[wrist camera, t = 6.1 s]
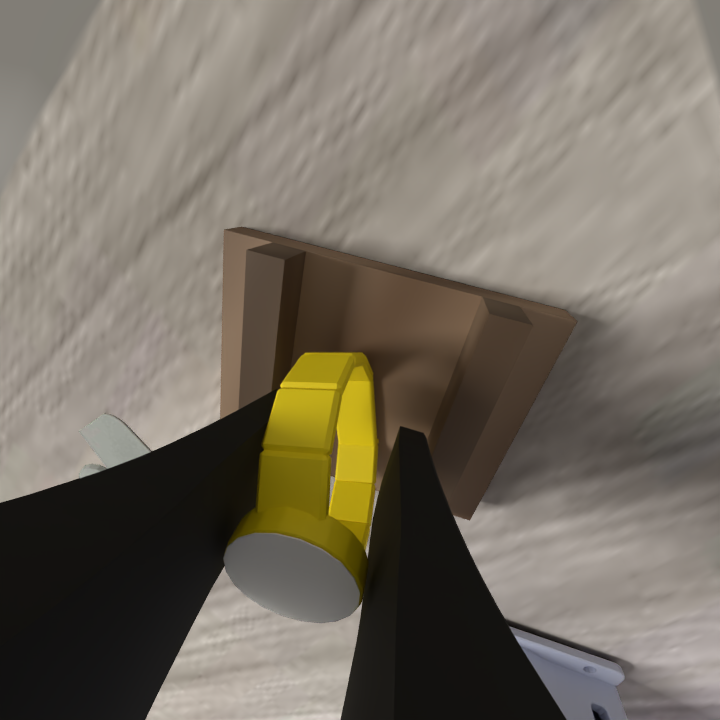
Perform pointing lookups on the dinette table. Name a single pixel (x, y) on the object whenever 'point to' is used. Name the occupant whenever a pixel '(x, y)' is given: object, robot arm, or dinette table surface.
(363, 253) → the dinette table surface
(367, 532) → the watch
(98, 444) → the mounting bracket
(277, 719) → the dinette table surface
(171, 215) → the dinette table surface
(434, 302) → the rack
